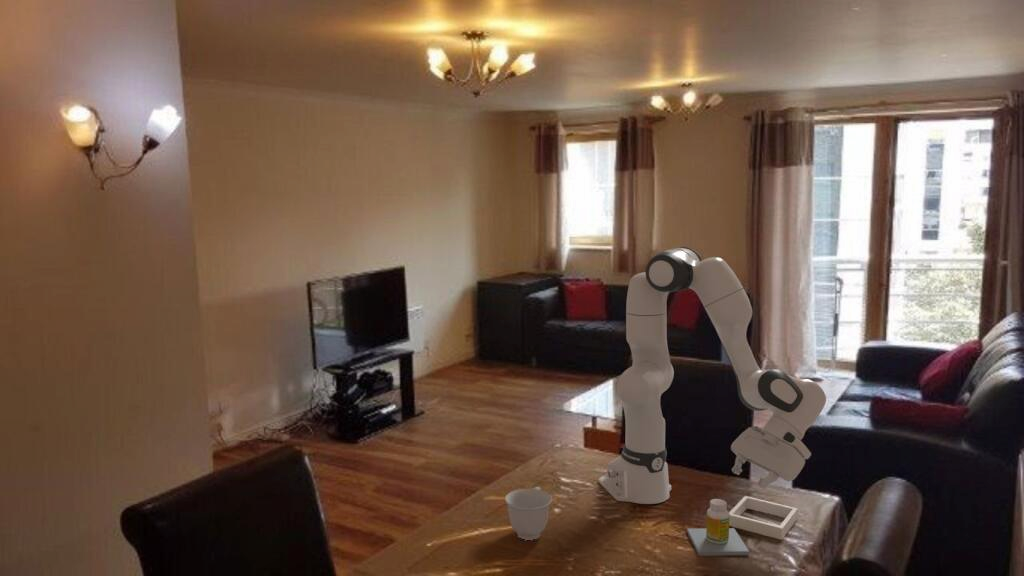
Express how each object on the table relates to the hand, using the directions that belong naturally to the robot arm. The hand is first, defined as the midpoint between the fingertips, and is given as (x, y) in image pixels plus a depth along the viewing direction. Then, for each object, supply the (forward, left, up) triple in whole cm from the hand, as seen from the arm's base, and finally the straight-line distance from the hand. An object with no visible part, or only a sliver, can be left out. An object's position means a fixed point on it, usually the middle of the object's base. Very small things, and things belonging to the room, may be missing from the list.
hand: (747, 479), depth 185 cm
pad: (0, -9, -15) cm, 17 cm away
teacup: (-26, -47, -15) cm, 56 cm away
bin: (-4, +10, -15) cm, 18 cm away
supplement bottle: (-1, -9, -14) cm, 17 cm away
